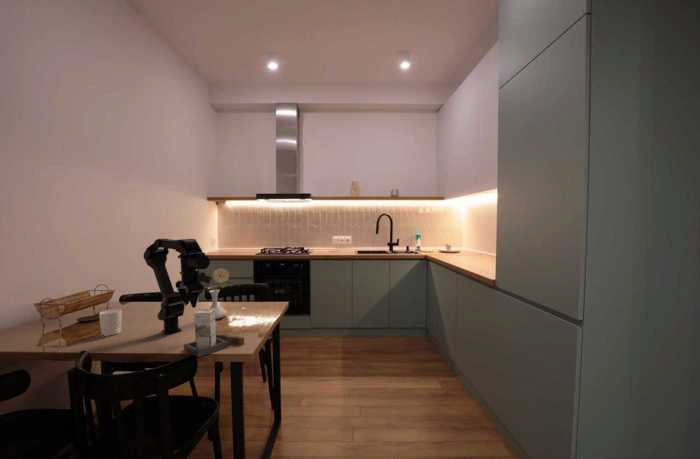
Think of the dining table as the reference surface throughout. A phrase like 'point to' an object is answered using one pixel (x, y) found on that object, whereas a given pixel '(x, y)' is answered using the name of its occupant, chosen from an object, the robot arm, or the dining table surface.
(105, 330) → the white cup
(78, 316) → the dining table surface
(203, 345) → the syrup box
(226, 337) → the walnut rail
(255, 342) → the dining table surface
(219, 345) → the keeper frame
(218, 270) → the flower in vase
